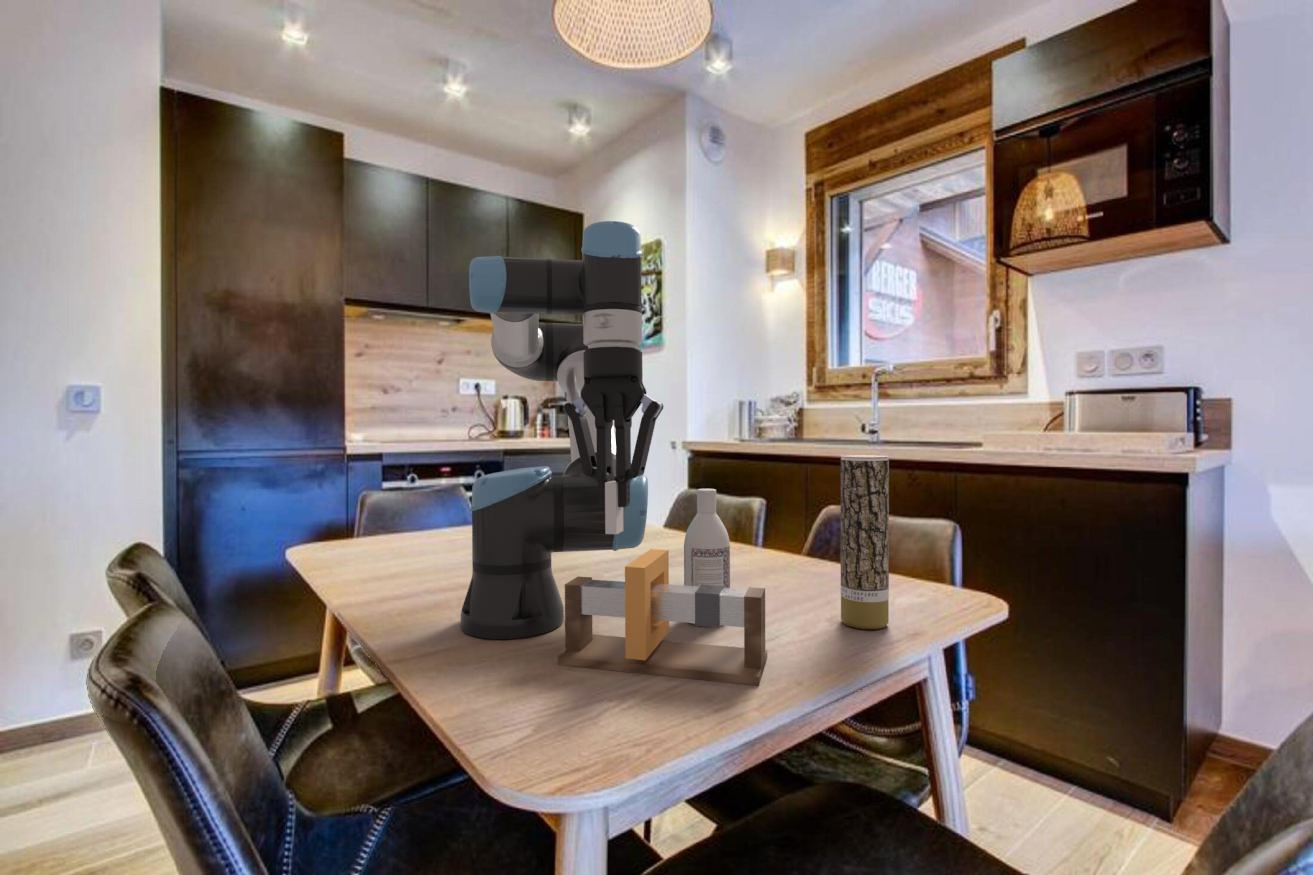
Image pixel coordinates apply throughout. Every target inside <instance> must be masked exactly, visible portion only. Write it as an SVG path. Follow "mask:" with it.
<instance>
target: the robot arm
mask: <svg viewBox="0 0 1313 875" xmlns="http://www.w3.org/2000/svg"><path fill="white" fill-rule="evenodd" d="M641 235H642V234H641V233H640V230H639V229H638V228H637V227H636V226H635V225H633V224H631V223H628V222H624V221H615V220H607V221H606V220H605V221H598V222H597V221H596V222H594V223H591V224H589V225H587V226H586V227H585V228H584V230H583V232H582V246H581V253H582V259H581V260H579V259H575V260H574V259H552V258H551V259H550V258H534V257H533V258H532V257H531V258H530V257H514V256H513V257H512V256H501V255H494V256H476V257H474V258H472V259H471V261H470V264H469V270H468V272H469V274H468V280H469V281H468V282H469V283H468V288H469V300H470V306H471V308H472V309H473V310H474V311H476V312H479V313H488V314H490V318H491V323H492V327H493V331H492V333H491V338H490V345H491V349H492V352H493V355H494V357H495V358H496V360H497V362H498V363H499V364H500V365H502V366H503V367H504V368H505V369H506V370H508V371H510V372H511V373H513V374H515V375H517V376H519V377H522V378H524V379H527V380H532V381H536V382H557V383H558V386H559V387H560V389H562V390H563V392H565V394H566V403H565V404H564V406H563V409H564V411H565V413H566V415H567V417H568V418H567V419H568V429H569V430H568V433H569V434H568V435H569V444H570V457H571V462H569V464H567V466H566V468H565V470H564V472H563V474H562V475H552V474H553V471H552V470H551V468H550V467H549V466H544V465H542V466H533V467H531V466H530V467H524V468H523V467H522V468H515V469H509V470H503V471H499V472H497V471H496V472H492V473H488V474H485V475H482V476H480V477H479V478H477V479H475V481H474V482H473V484H472V490H471V506H470V508H469V511H470V512H471V520H472V521H471V530H472V532H471V534H472V537H471V538H472V539H471V540H472V542H471V545H472V546H471V549H472V551H471V552H472V553H471V554H472V557H471V558H472V559H471V560H472V561H471V562H472V568H471V569H472V572H471V573H472V574H471V578H470V582H469V586H468V588H467V591H466V595H465V598H464V601H463V603H462V604H463V605H462V608H461V611H460V629H461V631H462V632H463V633H465V634H467V635H469V636H472V637H476V638H480V639H481V638H482V639H491V640H492V639H493V640H507V639H508V640H509V639H521V638H527V637H532V636H538V635H541V634H545V633H549V632H550V631H553V630H555V629H556V628H558V627H560V626H561V625H562V624H563V622H565V610H564V604H563V600H562V597H561V594H560V591H559V589H558V585H557V583H556V580H555V577H554V574H553V570H552V554H553V553H569V552H571V553H572V552H591V551H593V552H594V551H595V552H597V551H614V552H617V551H619V550H627V549H628V550H629V549H635V548H637V547H639V546H641V544H642V542H643V541H644V537H645V534H646V533H645V532H646V525H647V519H648V518H647V517H648V501H649V500H648V499H649V481H648V480H649V479H648V477H647V475H646V474H645V470H646V466H647V462H648V457H649V452H650V448H651V444H652V439H653V435H654V429H655V426H656V421H657V419H658V418H659V416H660V415H661V412H663V410H664V403H663V402H661V401H657V400H655V399H653V398H652V397H650V396H649V395H648V394H647V389H646V387H645V385H644V382H643V375H644V374H643V352H642V350H641V349H640V348H638V347H640V346H641V345H642V344H643V314H642V309H643V308H642V272H643V270H642V268H643V267H642V260H643V259H642V258H643V256H644V255H643V254H644V253H643V251H642V239H641V237H642V236H641ZM540 314H541V315H542V314H543V315H571V316H573V315H576V316H577V315H579V316H583V317H582V320H583V322H582V323H561V322H556V323H555V322H539V320H540ZM640 406H642V407H641V413H642V414H643V415H642V417H641V419H640V422H639V423H640V424H639V428H638V434H637V437H636V441H635V446H634V449H633V450H634V451H633V455H632V452H631V451H632V447H631V446H632V444H631V443H632V442H631V440H632V439H631V437H632V436H631V435H632V434H631V433H632V432H631V429H632V418H633V417H634V415H635V414H636V412H637V411H638V409H639V407H640Z"/></svg>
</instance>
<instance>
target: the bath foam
mask: <svg viewBox="0 0 1313 875" xmlns="http://www.w3.org/2000/svg"><path fill="white" fill-rule="evenodd" d="M696 510H697V512H696V514H695V515H694V516H693V519H692V520H691V523H690V524H689V526H688V527H687V530H686V532H685V536H684V541H683V573H684V574H683V580H684V581H683V585H684V586H699V587H700V586H701V585H715V586H725V588H731V546H730V536H729V533H728V530H727V528H726V527H725V524H724V522H723V521H722V519H721V518H720V517H719V515H718V513H717V489H715V488H698V489H696ZM690 624H692V625H694V626H695V623H690Z"/></svg>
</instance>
